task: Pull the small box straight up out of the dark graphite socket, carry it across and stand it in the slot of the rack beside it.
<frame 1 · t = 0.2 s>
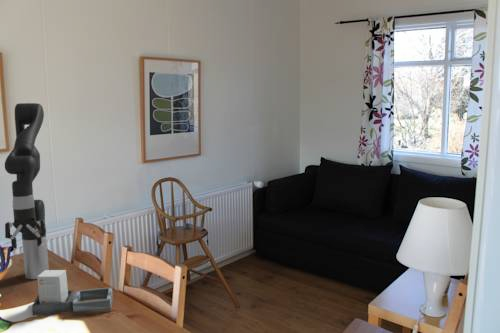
hand: (27, 246, 176), 18 cm above the table, tool pointing down, fingers open, 8 cm apart
socket: (54, 306, 163), on the table
small box: (54, 307, 163), resting in socket
rack: (93, 305, 163), on the table
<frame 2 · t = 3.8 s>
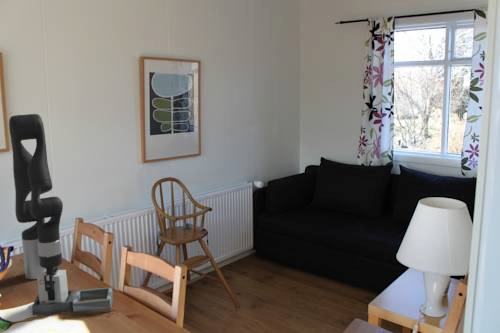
hand: (53, 295, 162), 4 cm above the table, tool pointing down, fingers closed on small box, 7 cm apart
small box: (54, 307, 163), resting in socket, touching gripper
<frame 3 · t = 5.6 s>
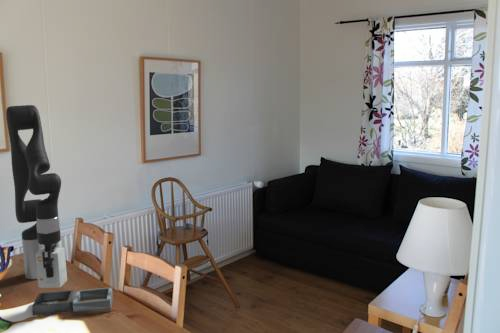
hand: (52, 272, 161), 13 cm above the table, tool pointing down, fingers closed on small box, 7 cm apart
small box: (53, 284, 162), point 8 cm above the table, touching gripper
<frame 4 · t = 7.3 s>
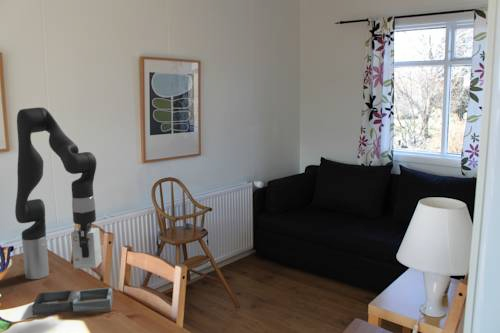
hand: (87, 253, 160), 20 cm above the table, tool pointing down, fingers closed on small box, 7 cm apart
small box: (88, 265, 160), point 16 cm above the table, touching gripper
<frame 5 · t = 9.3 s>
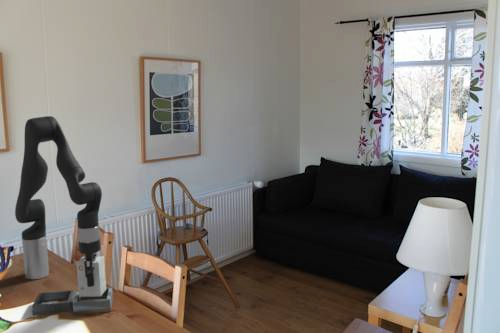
hand: (92, 281, 162), 9 cm above the table, tool pointing down, fingers closed on small box, 7 cm apart
small box: (92, 293, 163), point 5 cm above the table, touching gripper
when the fingers open (8 cm above the table, at t = 10.7 s): small box drops 2 cm, resting on rack.
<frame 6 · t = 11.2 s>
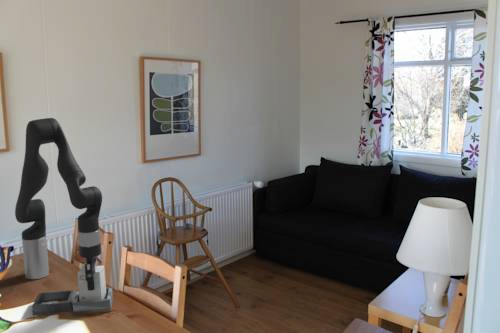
hand: (92, 285, 162), 8 cm above the table, tool pointing down, fingers open, 8 cm apart
small box: (93, 302, 164), point 1 cm above the table, touching rack
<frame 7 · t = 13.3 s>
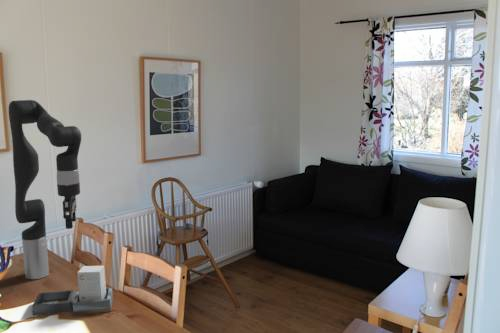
hand: (71, 224, 164), 29 cm above the table, tool pointing down, fingers open, 8 cm apart
nothing on the table moved.
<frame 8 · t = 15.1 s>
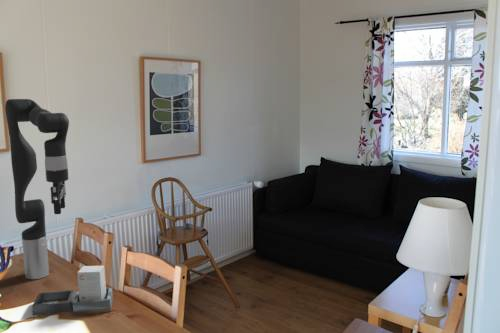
hand: (59, 211, 165), 34 cm above the table, tool pointing down, fingers open, 8 cm apart
nothing on the table moved.
at the end: small box 0.5 cm off-centre on the rack, point 1.0 cm above the rack's base; small box tilted 0°; the gripper is holding nothing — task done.
